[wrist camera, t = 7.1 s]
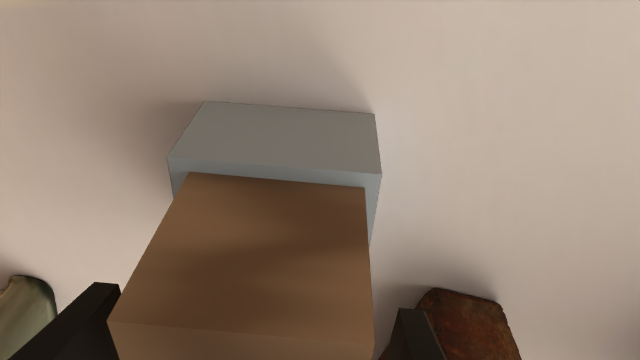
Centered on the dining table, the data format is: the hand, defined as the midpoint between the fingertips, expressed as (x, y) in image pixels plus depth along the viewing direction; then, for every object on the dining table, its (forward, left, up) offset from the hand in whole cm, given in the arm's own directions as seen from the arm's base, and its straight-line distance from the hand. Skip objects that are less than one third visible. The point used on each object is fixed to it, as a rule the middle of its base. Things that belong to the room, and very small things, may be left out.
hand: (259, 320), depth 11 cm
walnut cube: (0, 0, -3) cm, 3 cm away
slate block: (0, 0, -7) cm, 7 cm away
